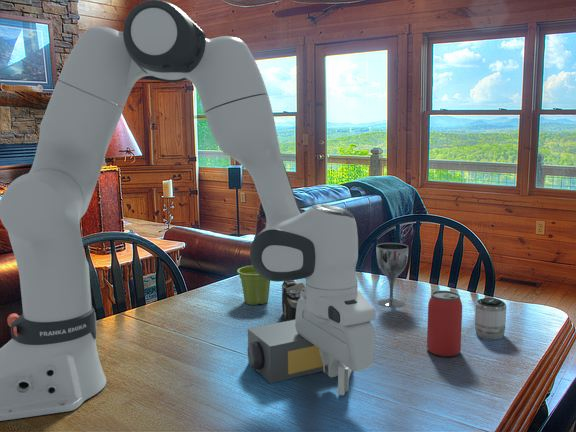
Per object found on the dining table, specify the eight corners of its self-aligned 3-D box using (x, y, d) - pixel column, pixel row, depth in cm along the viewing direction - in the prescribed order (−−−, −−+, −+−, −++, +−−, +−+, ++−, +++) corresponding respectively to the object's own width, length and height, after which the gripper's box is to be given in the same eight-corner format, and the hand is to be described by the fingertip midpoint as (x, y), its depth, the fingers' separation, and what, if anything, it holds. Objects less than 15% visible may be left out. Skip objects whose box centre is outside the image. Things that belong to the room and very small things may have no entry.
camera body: (265, 385, 101) (264, 343, 99) (242, 364, 110) (241, 325, 108) (346, 365, 108) (346, 326, 107) (319, 347, 117) (319, 311, 116)
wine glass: (411, 301, 147) (412, 244, 144) (400, 309, 140) (401, 250, 138) (382, 296, 151) (383, 241, 148) (370, 304, 144) (371, 247, 142)
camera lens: (509, 334, 123) (511, 299, 122) (497, 342, 119) (499, 306, 118) (481, 327, 128) (483, 294, 126) (469, 335, 123) (470, 300, 122)
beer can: (455, 360, 110) (457, 301, 108) (422, 353, 114) (424, 296, 112) (464, 349, 116) (466, 292, 114) (432, 342, 119) (434, 287, 117)
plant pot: (231, 305, 145) (230, 272, 144) (248, 294, 154) (247, 263, 152) (264, 309, 142) (264, 275, 140) (279, 298, 150) (279, 266, 149)
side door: (347, 395, 96) (347, 367, 95) (338, 394, 96) (338, 367, 95) (356, 366, 107) (356, 341, 106) (347, 365, 108) (348, 340, 107)
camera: (335, 332, 126) (335, 289, 124) (289, 336, 124) (289, 292, 123) (319, 309, 141) (319, 271, 140) (278, 312, 140) (278, 273, 138)
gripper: (286, 286, 105) (287, 356, 107) (349, 320, 87) (348, 403, 89) (316, 281, 108) (315, 350, 110) (382, 313, 90) (380, 394, 92)
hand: (330, 374), depth 99 cm, fingers closed
